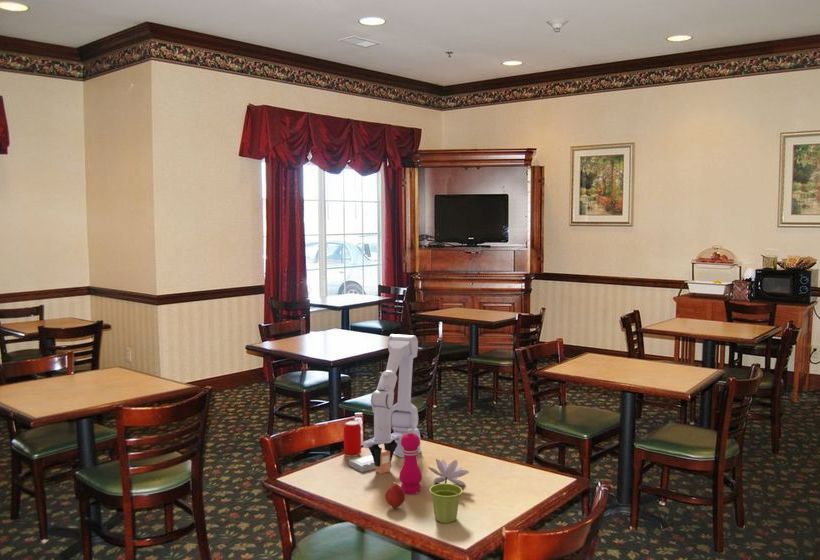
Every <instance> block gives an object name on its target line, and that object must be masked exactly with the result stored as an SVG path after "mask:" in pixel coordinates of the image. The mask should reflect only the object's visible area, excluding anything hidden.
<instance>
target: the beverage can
mask: <svg viewBox="0 0 820 560" xmlns="http://www.w3.org/2000/svg"><path fill="white" fill-rule="evenodd" d="M361 427H362V426H361V425H360V423H359V422H358V421H355V420H352V421H351V420H350V421H347V422H345V424H344V426H343V454H344V456H347V457H349V456H350V457H351V458H353V457H354V456H355V457H357V456H359V455H360V454H361V453H362V438H361V437H362V432H361V431H362V430H361V429H362V428H361ZM355 457H354V458H355Z"/></svg>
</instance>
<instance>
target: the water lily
mask: <svg viewBox="0 0 820 560" xmlns="http://www.w3.org/2000/svg"><path fill="white" fill-rule="evenodd" d="M435 461H436V465H437V470H436V469H435V468H434V467H430V466H427V468H428V470H430V471H431V472H432V473H434V474H435V475H436V476H438V477H436V478H434V480H433V482H434V483H437V484H441V483H444V484H448V481H449V482H451V483H453V484H454V485H457V486H466V483H465V482H464V481H462V480H460V479H459V480H458V478H461V477H463V476H466V475H467V474H470V471H469V470H467V469H464V468H463V467H459V468H457V467H458V464H459V463H458V460H457V459H456V460H455V459H454V460H453V461H451V462H449V464H447V462H446V460H444V459H442V460H441V461H440V460H439V459H438V458H436V459H435Z"/></svg>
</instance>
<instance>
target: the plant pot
mask: <svg viewBox="0 0 820 560" xmlns="http://www.w3.org/2000/svg"><path fill="white" fill-rule="evenodd" d="M429 492H430V494H431V497H432V504H433V511H434V519H435V521H439V522H440V523H442V524H450V523H453V522H456V521H457V518H458V517H457V516H458V510H459V503H460V498H461V495H462V494H463V489H462V487H460V485H458V484H454V483H453V484H452V483H446V484H445V483H437V484H434V485H432V486H430V487H429Z"/></svg>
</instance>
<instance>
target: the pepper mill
mask: <svg viewBox="0 0 820 560" xmlns="http://www.w3.org/2000/svg"><path fill="white" fill-rule="evenodd" d="M401 445H402V447H403V454H404V457H403V459H404V461H403V464H402V466H401V469H400V471H399V478H398V479H399V481H400V482H401V484H400V487H401V488H402V489H403V490H404V493H405V495H416V494H419V493H420V492H421V482H422V479H423V474H422V470H421V469H420V466H419V463H418V454H419V453H418V446H419V445H420V446H421V438H420V439H419V437H418V436H417V435H416V434H414V433H413V430H412V429H408V433H407V434H405V435H404V436H403V437H402V439H401Z"/></svg>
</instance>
